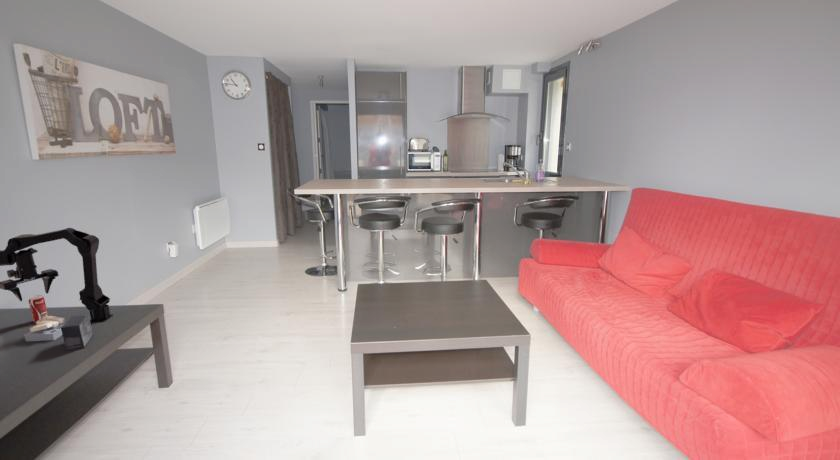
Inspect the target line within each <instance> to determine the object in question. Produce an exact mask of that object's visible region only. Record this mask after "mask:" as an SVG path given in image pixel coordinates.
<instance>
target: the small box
mask: <svg viewBox="0 0 840 460" xmlns="http://www.w3.org/2000/svg"><path fill="white" fill-rule="evenodd" d="M90 320H91V317H90V313H89V314H81V315H80V314H79V315H73V316H70V317H69V319H67V320H66V321H65V322H66V323H65V324H64V325H63V326H62V327H61V331H62V335H61V336H62V337H63V343H64V347H65V351H67V350H68V351H74V350H79V349H84V348H86V347H87V345H89V343H90V341H92V339H93V338H94V336H95V335H94V331H93V327H92V324H91V322H90Z"/></svg>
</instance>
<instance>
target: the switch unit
mask: <svg viewBox="0 0 840 460" xmlns="http://www.w3.org/2000/svg"><path fill="white" fill-rule="evenodd" d="M66 322H67V321H65V322H63V323H61V324H59V325H58V326H56V327H55V328H53V327H49V328H47V329H43V330H39V331H34V332H31V331H30V330H29V331H28V332H27V333H25V334H23V336H24V340H25V342H39V341H40V342H41V341H55V340H57V339H58V338H60V337H61V336H63V335H62V331H61V327H62V326H63V325H64V324H65V323H66Z"/></svg>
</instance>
